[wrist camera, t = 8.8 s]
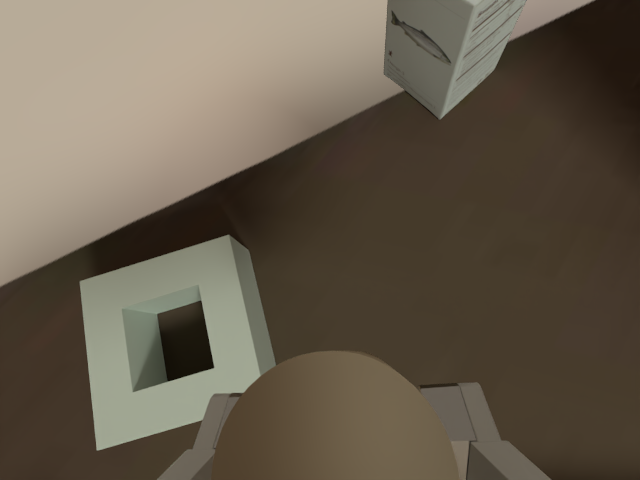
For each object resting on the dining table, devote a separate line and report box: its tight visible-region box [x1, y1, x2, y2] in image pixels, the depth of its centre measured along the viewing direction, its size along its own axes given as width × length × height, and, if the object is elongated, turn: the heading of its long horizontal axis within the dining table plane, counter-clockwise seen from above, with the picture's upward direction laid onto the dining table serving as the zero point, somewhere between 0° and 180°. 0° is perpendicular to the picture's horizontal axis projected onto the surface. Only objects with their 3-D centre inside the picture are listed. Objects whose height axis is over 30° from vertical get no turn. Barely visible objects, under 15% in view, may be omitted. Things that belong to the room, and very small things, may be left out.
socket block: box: [80, 235, 276, 451], centre depth 30 cm, size 12×12×5 cm
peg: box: [211, 351, 460, 480], centre depth 12 cm, size 4×4×11 cm
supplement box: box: [384, 0, 526, 119], centre depth 31 cm, size 7×7×13 cm
